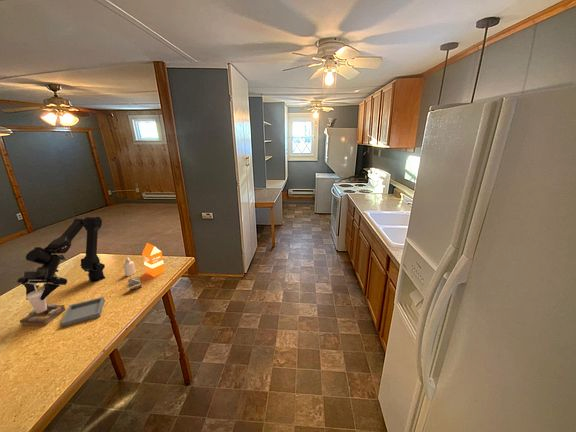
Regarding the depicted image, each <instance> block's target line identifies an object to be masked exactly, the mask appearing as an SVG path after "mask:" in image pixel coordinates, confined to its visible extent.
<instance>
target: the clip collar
mask: <svg viewBox="0 0 576 432" xmlns="http://www.w3.org/2000/svg"><path fill="white" fill-rule="evenodd" d="M65 311H66V307H65V305H64V304H55V303H49V304H47V310H46V311H44V312H41V313H36V312H35V310H34V309H32V310H31V311H29V312H28V314H27V315H26V316H25V317H22V318H21V319H20V320H19V323H20V324H21V326H23V327H32V326H33V327H44V326H47V325H48V324H50V323H51V322H52V321H53V320H55V319H57V317H59V316H60V315H61V314H62V313H63V312H65ZM44 313H47V315H45V316H44V317H40V316H41V315H43V314H44Z"/></svg>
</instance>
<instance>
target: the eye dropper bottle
mask: <svg viewBox="0 0 576 432" xmlns="http://www.w3.org/2000/svg"><path fill="white" fill-rule="evenodd" d="M124 262H125V263H124V264H123V269H124V274H125V276H126V277H129V276H130V277H131V276H132V275H135V274H136V273H137V272H136V267H135V262H134V261H133V260H132V261H131V258H129V257H128V256H126V259H125V261H124Z"/></svg>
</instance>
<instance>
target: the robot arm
mask: <svg viewBox="0 0 576 432" xmlns="http://www.w3.org/2000/svg"><path fill="white" fill-rule="evenodd" d="M102 223H103V220H102V218H101V217H100V216H85V218H83V217H77V218H74V219H73V222H72V223H71V224H70V225H69V226H68V227H67V229H66V230H65V231H64V232H63V233H62V234H61V235H60V236H59V237H57V238H55V239H53V240H52V241H50V242H49V244H47V245H46V246H45V247H44V248H43V247H40V246H35V247H34V249H31V250H30V251H29V252H28V253H26V255H25V259H26V261H28V262H30V263H31V262H32V263H35V264H39V265H41V267H40V266H38V267H37V268H36V269H35V270H34V269H33V270H26V271H24V272H23V276H21V277H19V278H18V279H17V281H16V284H21V286H24V287H25V296H26V295H27V294H29V293H30V292H33V291H36V290H35V287H34V285H36V287H37V289H39V287H40V285H38V284H43V286H44V289H43V290H44V291H43V293H42V296H41V299H40V300H44V299H45V298H46V299H47V297H48V296H49V295H51V294H52V293H53V292H54V291H55V290H56V289H57V288H59V287H61V286H66V285H67V284H68V279H67V278H64V277H60V276H57V277H54V274H55V273H58V272H59V271H60V270H59V269H58V268H59V265H60V263H61V261H65V260H66V258H65V256H64V254H66V253H67V252H69V249H70V248H71V246H72V242H73V240H74V238H75V237H76V236H77V235H78V233H79V232H80V231H81V230H82V229H83V227H84V229H85V230H86V243H85V246H86V247H85V256H84V257H83V258H80V265H79V266H80V268H81V269H82V270H83V271H84V272H87V277H88V280H89V281H90V282H91V283H95V282H98V281H102V280H103V279H106V276H105V275H104V271H103V270H104V269H105V266H106V265H105V264H104V263H102V262H101V260H100V257H99V256H98V254H97V252H98V233H99V230H100V229H101V228H102ZM25 300H27V301H29V300H28V299H26V298H25Z"/></svg>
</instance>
